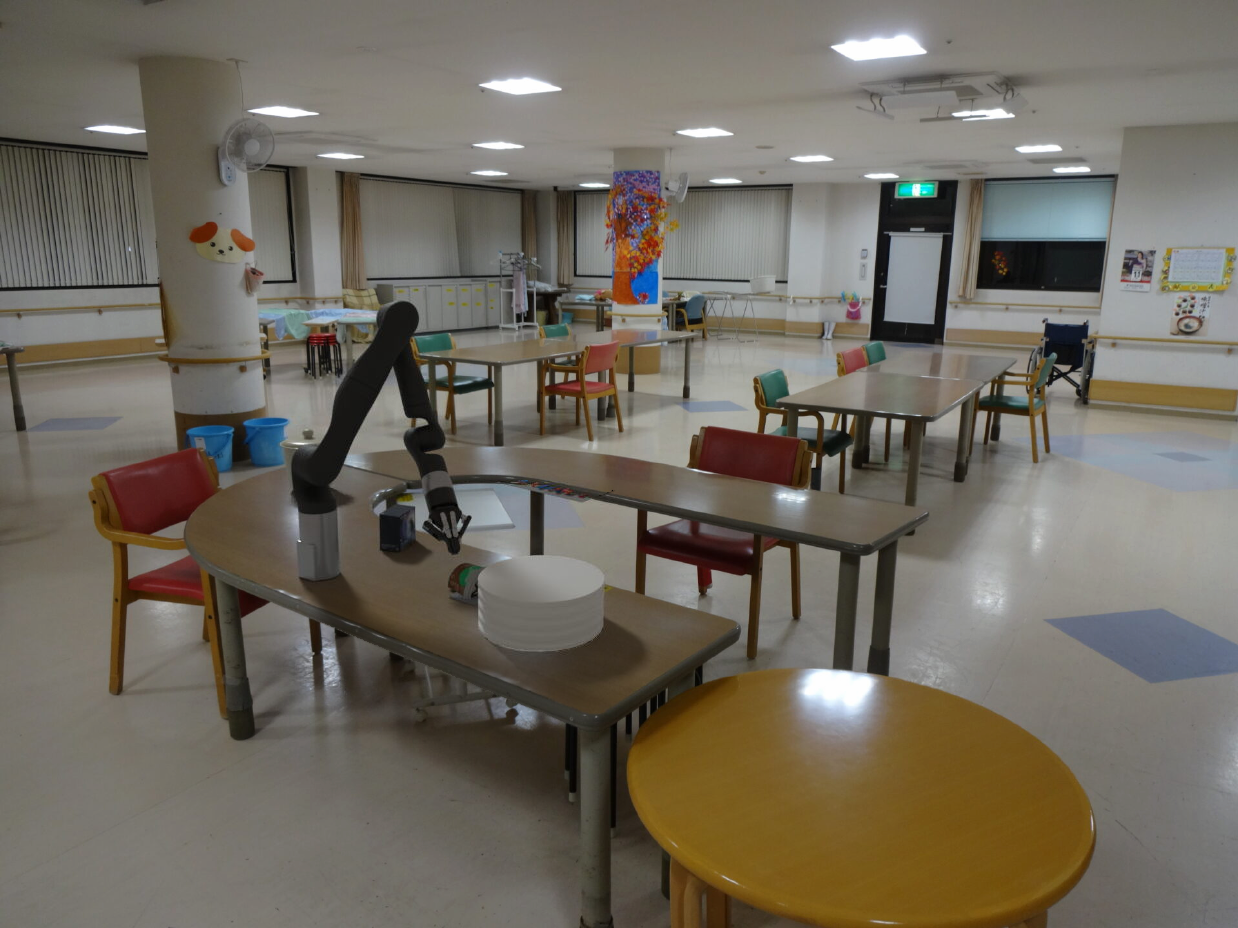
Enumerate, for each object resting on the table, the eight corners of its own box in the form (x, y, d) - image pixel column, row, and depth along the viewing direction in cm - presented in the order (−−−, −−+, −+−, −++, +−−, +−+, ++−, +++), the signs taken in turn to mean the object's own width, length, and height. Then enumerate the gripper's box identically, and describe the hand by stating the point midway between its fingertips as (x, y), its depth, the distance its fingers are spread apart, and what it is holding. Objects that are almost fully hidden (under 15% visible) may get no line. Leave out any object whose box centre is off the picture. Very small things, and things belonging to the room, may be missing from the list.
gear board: (615, 484, 301) (582, 497, 286) (614, 491, 302) (581, 504, 287) (517, 463, 326) (482, 474, 310) (517, 470, 327) (482, 480, 311)
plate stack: (541, 590, 213) (542, 546, 210) (628, 624, 195) (630, 576, 192) (452, 625, 192) (451, 577, 189) (540, 666, 174) (541, 613, 172)
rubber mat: (482, 607, 201) (482, 605, 201) (449, 597, 206) (449, 595, 206) (528, 583, 216) (528, 581, 216) (496, 575, 221) (496, 572, 221)
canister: (348, 484, 298) (345, 425, 293) (323, 499, 281) (320, 436, 275) (299, 481, 300) (296, 422, 295) (272, 495, 283) (267, 432, 278)
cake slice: (482, 553, 217) (508, 563, 211) (482, 575, 219) (508, 586, 212) (442, 564, 208) (468, 575, 202) (442, 588, 210) (468, 600, 203)
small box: (400, 552, 235) (399, 516, 232) (378, 550, 236) (377, 513, 233) (417, 540, 245) (416, 505, 242) (396, 538, 246) (394, 503, 244)
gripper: (416, 488, 213) (432, 550, 205) (467, 482, 219) (484, 542, 212) (410, 503, 218) (426, 563, 211) (460, 497, 225) (477, 556, 217)
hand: (455, 553), depth 211 cm, fingers closed
